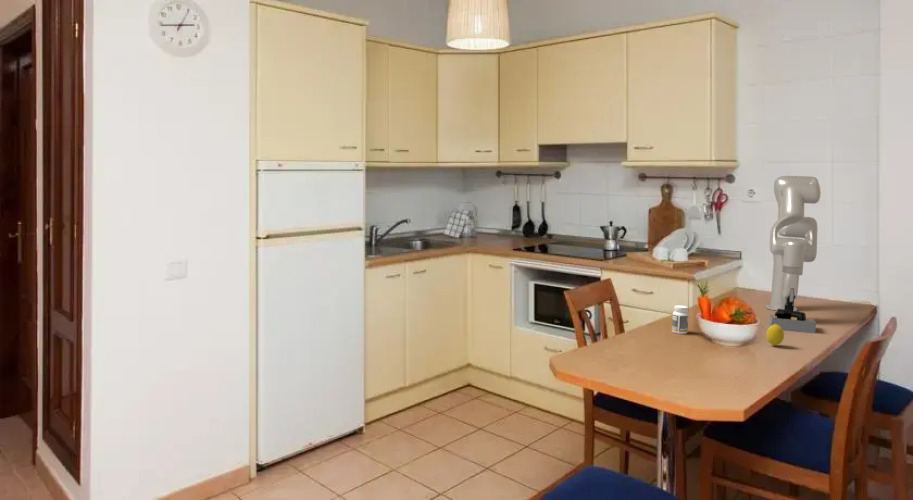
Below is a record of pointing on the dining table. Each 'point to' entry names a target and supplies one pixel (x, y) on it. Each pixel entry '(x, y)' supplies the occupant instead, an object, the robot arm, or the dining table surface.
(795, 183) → the robot arm
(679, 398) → the dining table surface
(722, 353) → the dining table surface
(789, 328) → the steel cradle
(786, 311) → the end cap
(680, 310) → the pill bottle
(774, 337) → the lemon
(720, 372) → the dining table surface
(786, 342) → the dining table surface
